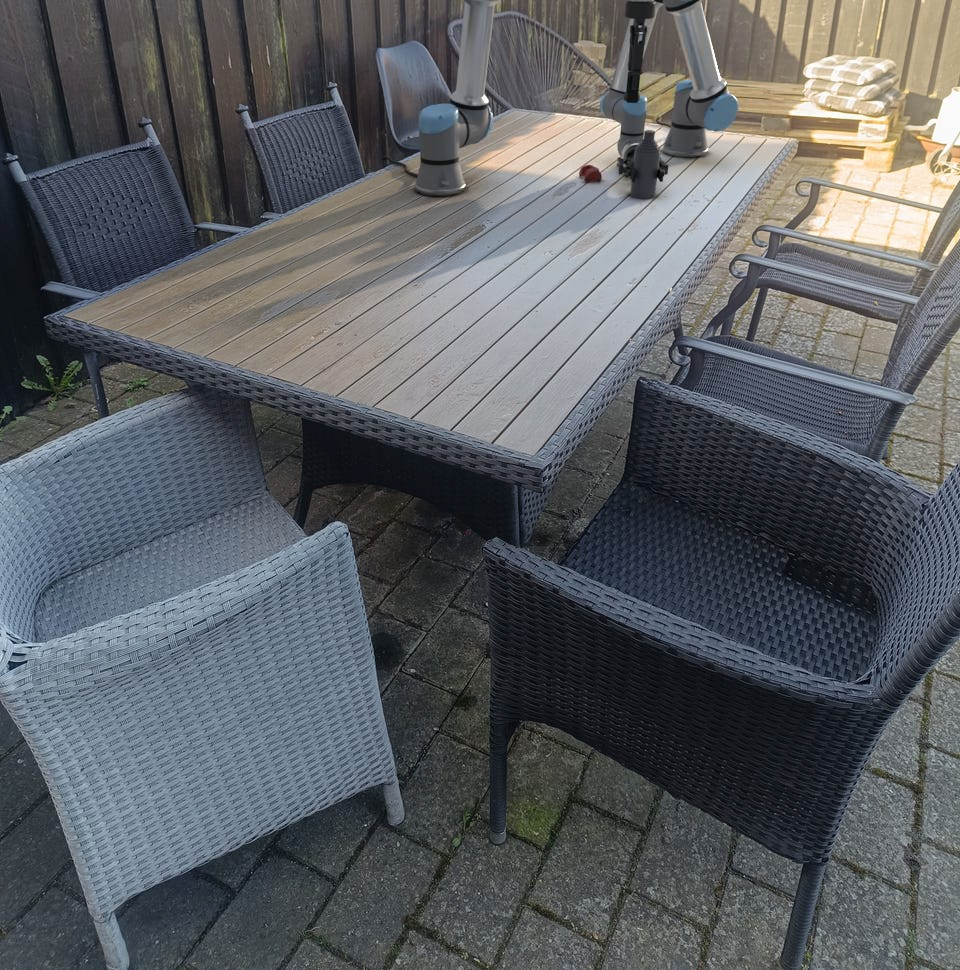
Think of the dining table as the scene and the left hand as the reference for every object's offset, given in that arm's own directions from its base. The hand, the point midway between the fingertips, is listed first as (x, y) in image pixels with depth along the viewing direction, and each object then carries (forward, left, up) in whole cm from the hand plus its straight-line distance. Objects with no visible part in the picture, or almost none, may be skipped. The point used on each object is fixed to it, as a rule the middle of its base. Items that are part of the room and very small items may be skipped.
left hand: (631, 100), depth 224 cm
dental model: (-25, +22, -30) cm, 44 cm away
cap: (0, 0, +1) cm, 1 cm away
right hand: (0, +14, -23) cm, 27 cm away
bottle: (-3, +18, -30) cm, 35 cm away
